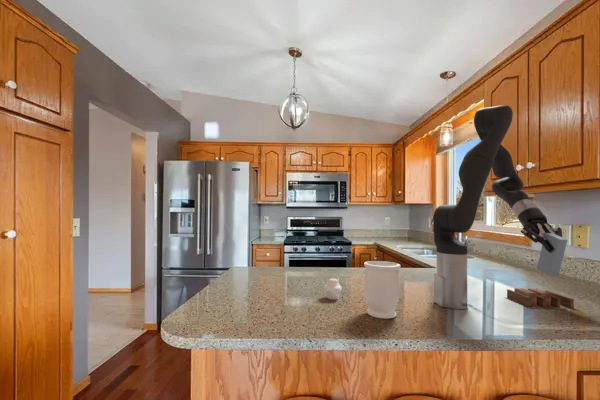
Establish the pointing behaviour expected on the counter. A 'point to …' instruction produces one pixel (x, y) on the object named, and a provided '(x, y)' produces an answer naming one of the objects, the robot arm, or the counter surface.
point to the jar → (382, 288)
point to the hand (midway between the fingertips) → (556, 251)
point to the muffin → (332, 289)
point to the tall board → (552, 255)
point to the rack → (542, 300)
